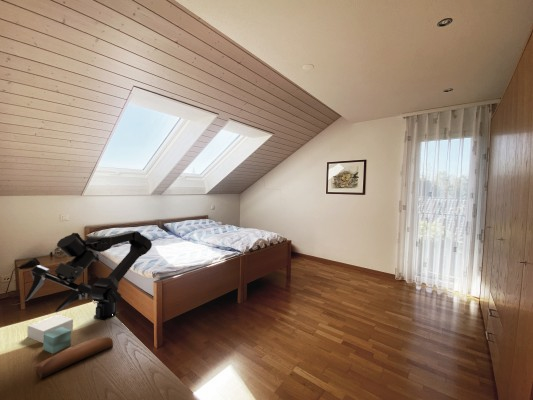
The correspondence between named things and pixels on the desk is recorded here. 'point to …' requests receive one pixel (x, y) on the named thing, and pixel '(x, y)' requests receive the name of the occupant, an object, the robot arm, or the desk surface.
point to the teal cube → (57, 340)
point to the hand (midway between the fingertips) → (40, 306)
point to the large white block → (48, 326)
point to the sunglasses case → (72, 355)
